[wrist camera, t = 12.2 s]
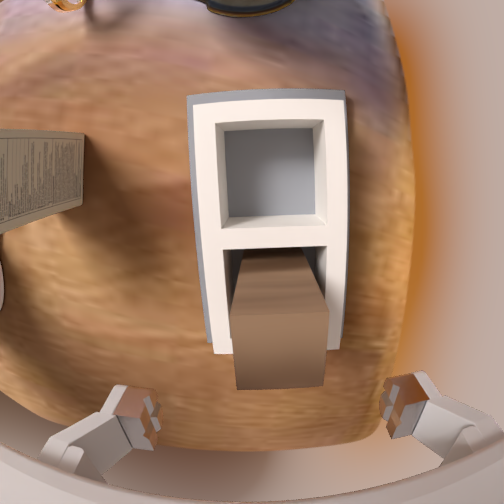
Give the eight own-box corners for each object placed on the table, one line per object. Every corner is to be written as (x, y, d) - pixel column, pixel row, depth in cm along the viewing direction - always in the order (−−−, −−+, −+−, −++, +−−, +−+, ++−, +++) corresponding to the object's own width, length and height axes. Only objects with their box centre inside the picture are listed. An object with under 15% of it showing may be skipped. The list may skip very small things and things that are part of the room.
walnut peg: (244, 248, 21) (229, 315, 12) (300, 246, 21) (329, 311, 12) (247, 300, 23) (236, 389, 13) (300, 298, 22) (323, 386, 13)
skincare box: (49, 137, 20) (-59, 137, 9) (88, 132, 20) (-26, 124, 9) (48, 207, 22) (-56, 240, 10) (85, 208, 22) (-24, 246, 10)
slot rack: (339, 331, 24) (354, 366, 19) (209, 336, 25) (198, 372, 20) (341, 93, 19) (362, 75, 14) (190, 98, 20) (170, 81, 15)
